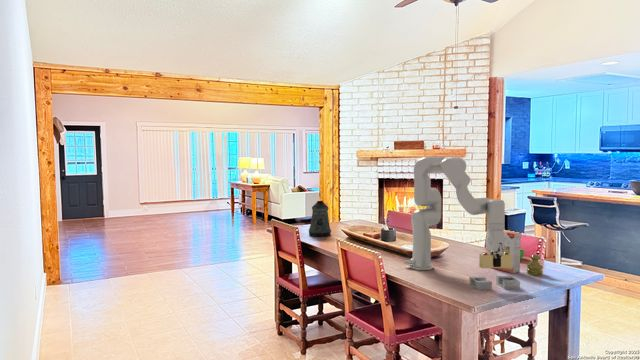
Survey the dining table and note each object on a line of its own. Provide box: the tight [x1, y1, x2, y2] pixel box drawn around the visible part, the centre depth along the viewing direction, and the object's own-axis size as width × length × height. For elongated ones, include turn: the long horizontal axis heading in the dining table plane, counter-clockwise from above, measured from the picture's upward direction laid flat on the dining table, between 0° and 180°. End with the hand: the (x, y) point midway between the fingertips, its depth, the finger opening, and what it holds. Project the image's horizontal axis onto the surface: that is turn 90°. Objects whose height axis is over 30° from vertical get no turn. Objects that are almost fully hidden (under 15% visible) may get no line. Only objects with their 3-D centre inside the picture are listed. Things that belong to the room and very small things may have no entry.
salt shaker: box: [526, 253, 544, 277], centre depth 233 cm, size 7×8×10 cm
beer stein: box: [308, 200, 332, 238], centre depth 338 cm, size 16×19×25 cm
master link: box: [478, 251, 512, 269], centre depth 212 cm, size 14×3×7 cm, turn 93°
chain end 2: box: [495, 275, 521, 290], centre depth 214 cm, size 7×9×4 cm
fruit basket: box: [520, 245, 526, 260], centre depth 264 cm, size 11×9×11 cm
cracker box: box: [493, 229, 522, 274], centre depth 240 cm, size 14×6×21 cm, turn 33°
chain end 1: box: [468, 276, 493, 291], centre depth 213 cm, size 7×9×4 cm
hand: (495, 265), depth 212 cm, fingers closed on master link, 3 cm apart
